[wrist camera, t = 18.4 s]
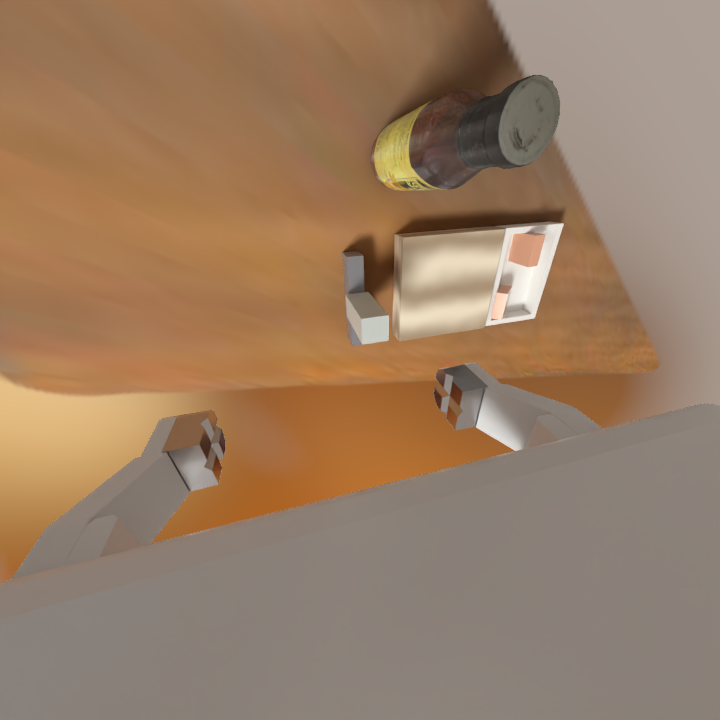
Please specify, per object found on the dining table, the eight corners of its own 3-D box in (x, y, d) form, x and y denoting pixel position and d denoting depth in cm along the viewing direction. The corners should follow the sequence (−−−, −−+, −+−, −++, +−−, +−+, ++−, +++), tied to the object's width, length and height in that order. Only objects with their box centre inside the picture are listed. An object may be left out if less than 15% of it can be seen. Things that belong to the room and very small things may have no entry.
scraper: (338, 252, 36) (359, 274, 27) (361, 250, 37) (389, 271, 27) (344, 337, 42) (363, 378, 33) (364, 334, 43) (387, 373, 34)
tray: (494, 226, 39) (506, 228, 37) (549, 221, 41) (563, 223, 39) (476, 319, 47) (485, 325, 45) (523, 312, 48) (534, 318, 46)
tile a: (535, 235, 37) (545, 234, 37) (514, 231, 40) (523, 230, 40) (527, 267, 39) (537, 265, 39) (508, 260, 42) (516, 259, 42)
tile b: (496, 292, 41) (507, 293, 40) (501, 284, 44) (512, 286, 43) (490, 318, 43) (501, 320, 42) (495, 309, 46) (505, 311, 45)
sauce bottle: (376, 197, 34) (472, 207, 17) (362, 132, 30) (465, 68, 14) (426, 179, 34) (567, 173, 18) (418, 113, 31) (584, 29, 14)
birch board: (394, 234, 36) (403, 237, 34) (491, 226, 39) (505, 228, 37) (392, 332, 44) (399, 341, 41) (473, 320, 47) (484, 327, 44)
